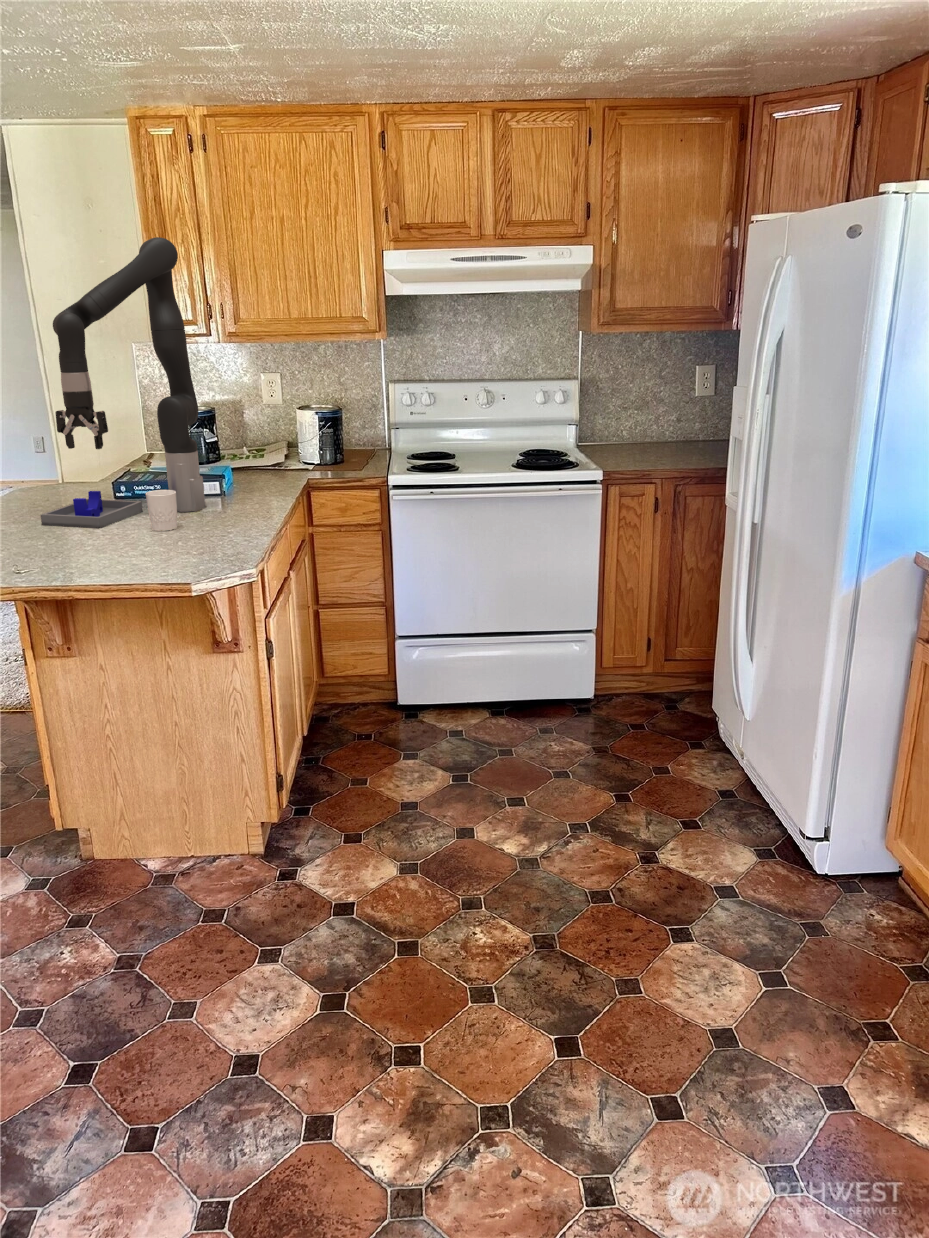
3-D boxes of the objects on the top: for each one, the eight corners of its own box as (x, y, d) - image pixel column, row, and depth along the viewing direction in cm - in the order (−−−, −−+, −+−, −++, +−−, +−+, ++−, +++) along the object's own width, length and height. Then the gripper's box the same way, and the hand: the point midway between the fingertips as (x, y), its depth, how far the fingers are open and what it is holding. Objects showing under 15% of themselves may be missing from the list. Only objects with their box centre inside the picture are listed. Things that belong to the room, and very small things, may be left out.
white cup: (185, 526, 255) (181, 490, 252) (167, 533, 248) (164, 496, 245) (161, 524, 258) (157, 489, 254) (143, 530, 251) (139, 494, 247)
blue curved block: (91, 520, 258) (89, 499, 256) (75, 520, 258) (72, 499, 256) (108, 511, 269) (105, 491, 267) (92, 511, 269) (90, 490, 267)
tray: (142, 511, 273) (141, 501, 272) (100, 528, 252) (99, 517, 251) (88, 508, 276) (86, 498, 275) (42, 525, 256) (40, 514, 255)
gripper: (108, 388, 255) (115, 447, 260) (61, 387, 257) (70, 446, 263) (92, 390, 248) (100, 451, 253) (45, 390, 250) (54, 450, 256)
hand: (85, 448), depth 258 cm, fingers open, 8 cm apart
